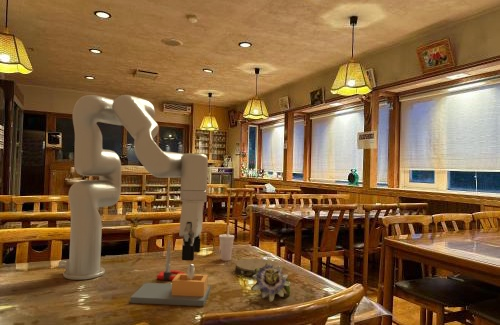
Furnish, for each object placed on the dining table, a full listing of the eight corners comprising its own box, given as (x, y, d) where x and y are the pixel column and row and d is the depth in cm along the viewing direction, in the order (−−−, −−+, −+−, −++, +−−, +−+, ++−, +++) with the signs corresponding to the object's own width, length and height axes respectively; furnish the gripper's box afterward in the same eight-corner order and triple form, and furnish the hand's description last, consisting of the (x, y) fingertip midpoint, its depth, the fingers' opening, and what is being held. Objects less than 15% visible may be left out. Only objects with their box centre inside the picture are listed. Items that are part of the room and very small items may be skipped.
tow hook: (164, 272, 124) (153, 279, 114) (167, 236, 124) (156, 239, 115) (187, 275, 122) (178, 282, 113) (189, 237, 123) (180, 241, 114)
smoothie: (233, 261, 140) (234, 226, 140) (217, 261, 140) (218, 226, 140) (234, 257, 146) (235, 224, 146) (218, 257, 146) (220, 223, 146)
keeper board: (130, 302, 95) (130, 297, 95) (145, 287, 107) (145, 282, 107) (203, 306, 94) (203, 300, 94) (210, 290, 106) (210, 285, 106)
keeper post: (185, 292, 99) (186, 264, 99) (187, 290, 101) (188, 262, 101) (192, 293, 99) (193, 264, 99) (194, 290, 101) (195, 263, 101)
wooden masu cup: (171, 295, 97) (172, 280, 97) (177, 287, 104) (177, 273, 104) (203, 296, 97) (204, 282, 97) (207, 288, 103) (207, 274, 103)
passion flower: (270, 320, 99) (250, 289, 96) (258, 299, 109) (240, 271, 106) (302, 296, 101) (284, 266, 97) (287, 278, 111) (270, 249, 108)
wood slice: (286, 277, 123) (286, 268, 123) (243, 280, 117) (244, 272, 117) (268, 265, 138) (268, 257, 138) (230, 267, 132) (230, 259, 132)
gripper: (187, 193, 109) (185, 248, 109) (173, 198, 92) (170, 263, 92) (210, 194, 109) (208, 249, 109) (201, 199, 92) (198, 264, 91)
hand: (191, 255), depth 100 cm, fingers open, 9 cm apart
